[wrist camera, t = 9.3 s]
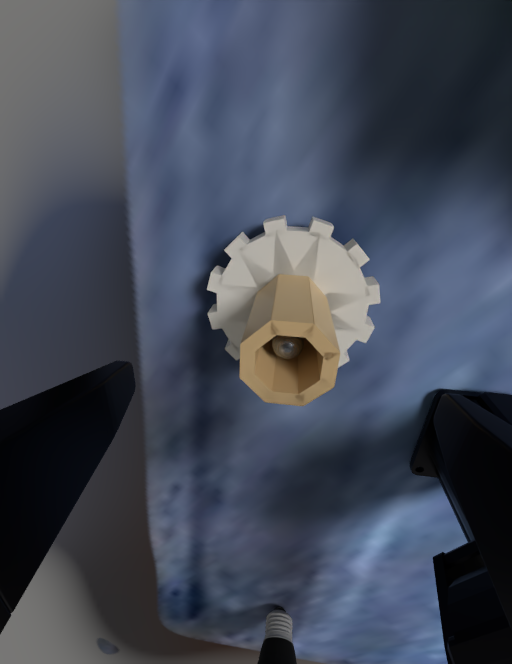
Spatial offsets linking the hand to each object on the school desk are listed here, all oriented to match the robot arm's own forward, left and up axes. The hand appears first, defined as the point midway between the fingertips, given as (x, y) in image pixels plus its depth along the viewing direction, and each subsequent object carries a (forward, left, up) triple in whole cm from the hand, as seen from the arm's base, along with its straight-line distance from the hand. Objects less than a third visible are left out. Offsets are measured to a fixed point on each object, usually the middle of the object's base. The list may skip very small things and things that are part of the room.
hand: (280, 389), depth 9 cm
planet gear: (0, 0, -8) cm, 8 cm away
